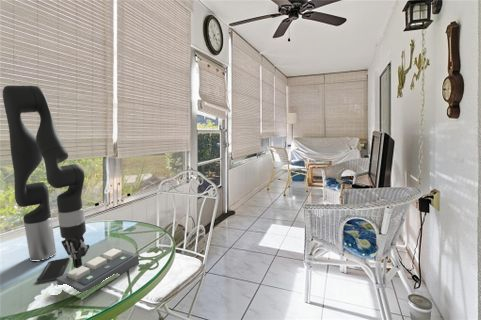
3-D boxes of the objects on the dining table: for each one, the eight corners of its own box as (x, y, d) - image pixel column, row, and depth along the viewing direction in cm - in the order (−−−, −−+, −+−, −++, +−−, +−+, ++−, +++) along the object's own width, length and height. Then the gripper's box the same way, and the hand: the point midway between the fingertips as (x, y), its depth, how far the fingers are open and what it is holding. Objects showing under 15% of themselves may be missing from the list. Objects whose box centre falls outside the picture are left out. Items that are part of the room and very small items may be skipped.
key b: (87, 268, 99) (86, 262, 98) (99, 261, 103) (98, 256, 103) (95, 271, 96) (94, 265, 96) (107, 264, 101) (106, 259, 100)
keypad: (57, 288, 92) (56, 277, 91) (116, 255, 113) (115, 246, 112) (82, 300, 86) (81, 288, 85) (139, 263, 107) (138, 253, 106)
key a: (68, 278, 92) (67, 272, 92) (81, 271, 97) (81, 265, 96) (76, 282, 90) (76, 276, 90) (90, 274, 95) (89, 268, 94)
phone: (35, 282, 94) (49, 261, 108) (36, 285, 95) (49, 263, 108) (60, 277, 97) (70, 257, 111) (61, 280, 97) (71, 259, 111)
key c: (103, 259, 105) (103, 253, 104) (114, 253, 109) (113, 248, 109) (111, 262, 103) (111, 256, 102) (122, 256, 107) (121, 250, 107)
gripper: (49, 222, 89) (56, 267, 92) (72, 229, 84) (79, 277, 87) (71, 215, 96) (77, 257, 99) (94, 220, 90) (99, 265, 93)
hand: (78, 266), depth 93 cm, fingers closed
